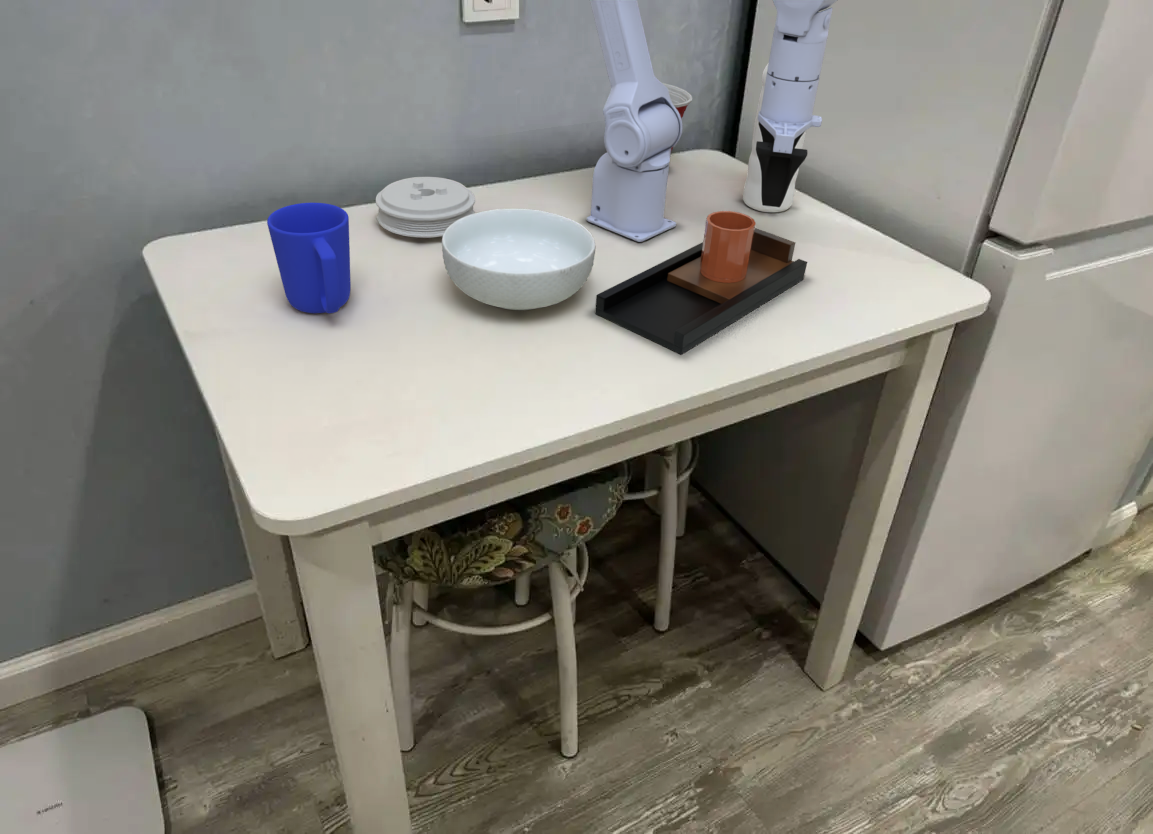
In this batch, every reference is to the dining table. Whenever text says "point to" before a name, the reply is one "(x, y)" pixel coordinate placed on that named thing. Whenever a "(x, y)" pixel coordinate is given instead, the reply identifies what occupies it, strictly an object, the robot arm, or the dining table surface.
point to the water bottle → (754, 170)
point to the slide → (763, 262)
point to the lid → (423, 206)
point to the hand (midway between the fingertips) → (771, 193)
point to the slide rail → (684, 303)
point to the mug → (312, 255)
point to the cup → (727, 246)
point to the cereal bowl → (518, 257)
